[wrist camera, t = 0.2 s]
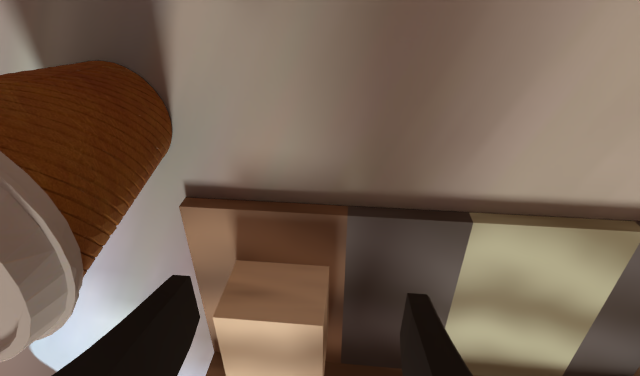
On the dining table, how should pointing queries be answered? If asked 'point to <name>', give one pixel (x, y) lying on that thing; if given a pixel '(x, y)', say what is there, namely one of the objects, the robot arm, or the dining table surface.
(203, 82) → the dining table surface
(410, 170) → the dining table surface
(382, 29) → the dining table surface
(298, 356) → the maple block
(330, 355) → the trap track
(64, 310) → the disposable coffee cup
